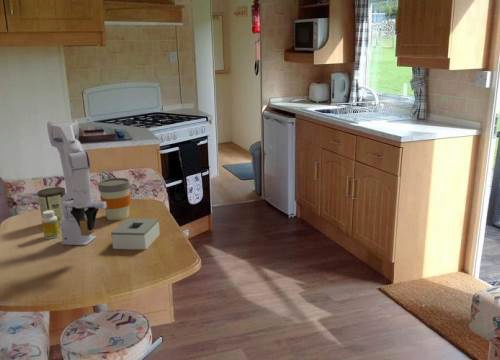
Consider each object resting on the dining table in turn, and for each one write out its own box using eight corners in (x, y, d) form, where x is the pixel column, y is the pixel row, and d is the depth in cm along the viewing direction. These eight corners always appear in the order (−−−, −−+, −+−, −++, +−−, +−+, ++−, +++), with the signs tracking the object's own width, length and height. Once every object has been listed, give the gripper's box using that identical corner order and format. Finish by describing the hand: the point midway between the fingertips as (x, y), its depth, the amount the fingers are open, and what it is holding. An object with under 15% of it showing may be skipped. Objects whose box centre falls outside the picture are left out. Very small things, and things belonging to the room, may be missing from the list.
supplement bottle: (54, 239, 179) (50, 214, 176) (41, 238, 180) (37, 213, 177) (62, 233, 184) (59, 209, 181) (50, 233, 185) (46, 209, 182)
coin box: (113, 248, 167) (111, 232, 166) (129, 233, 181) (127, 218, 179) (145, 249, 165) (144, 233, 164) (159, 234, 179) (158, 219, 177)
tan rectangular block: (81, 235, 156) (79, 220, 155) (87, 231, 160) (85, 216, 159) (88, 235, 156) (86, 221, 155) (94, 231, 160) (92, 216, 159)
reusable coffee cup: (109, 211, 208) (105, 177, 204) (137, 211, 206) (134, 177, 202) (97, 221, 196) (92, 186, 192) (126, 221, 194) (122, 185, 190)
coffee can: (59, 218, 202) (54, 185, 198) (75, 222, 197) (70, 188, 193) (37, 226, 194) (31, 192, 190) (53, 230, 188) (47, 195, 185)
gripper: (54, 192, 152) (60, 233, 155) (97, 192, 149) (102, 234, 153) (66, 186, 158) (71, 225, 162) (107, 186, 156) (112, 226, 159)
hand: (87, 229), depth 158 cm, fingers closed on tan rectangular block, 2 cm apart
